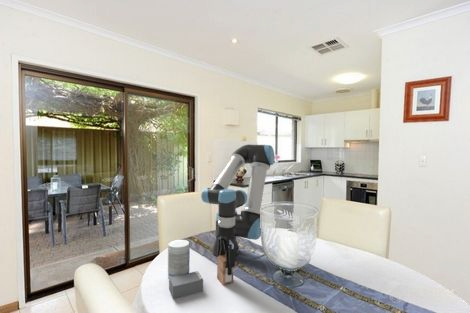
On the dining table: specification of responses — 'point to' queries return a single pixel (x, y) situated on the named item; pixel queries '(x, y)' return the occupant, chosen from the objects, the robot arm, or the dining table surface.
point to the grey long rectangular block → (185, 284)
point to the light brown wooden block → (222, 269)
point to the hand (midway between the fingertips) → (225, 277)
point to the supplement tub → (178, 257)
